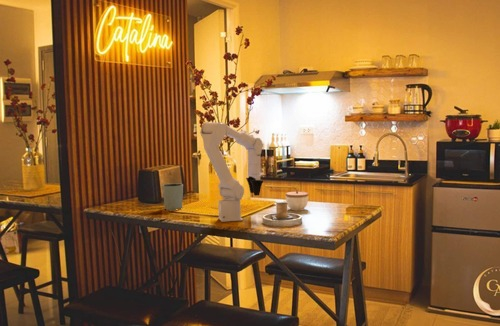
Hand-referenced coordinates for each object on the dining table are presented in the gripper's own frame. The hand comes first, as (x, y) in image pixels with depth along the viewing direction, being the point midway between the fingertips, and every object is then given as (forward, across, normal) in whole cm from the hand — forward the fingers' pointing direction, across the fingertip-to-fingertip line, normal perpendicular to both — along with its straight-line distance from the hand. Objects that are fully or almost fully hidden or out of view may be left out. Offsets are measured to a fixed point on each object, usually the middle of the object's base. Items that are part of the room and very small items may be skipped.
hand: (254, 194), depth 232 cm
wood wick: (+9, -20, -7) cm, 23 cm away
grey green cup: (+10, +26, +35) cm, 45 cm away
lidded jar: (+10, +6, -22) cm, 25 cm away
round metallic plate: (+9, -20, -7) cm, 23 cm away
